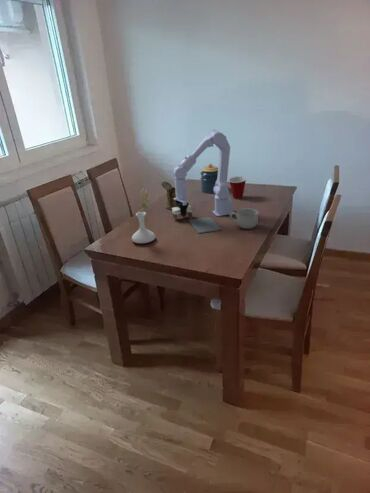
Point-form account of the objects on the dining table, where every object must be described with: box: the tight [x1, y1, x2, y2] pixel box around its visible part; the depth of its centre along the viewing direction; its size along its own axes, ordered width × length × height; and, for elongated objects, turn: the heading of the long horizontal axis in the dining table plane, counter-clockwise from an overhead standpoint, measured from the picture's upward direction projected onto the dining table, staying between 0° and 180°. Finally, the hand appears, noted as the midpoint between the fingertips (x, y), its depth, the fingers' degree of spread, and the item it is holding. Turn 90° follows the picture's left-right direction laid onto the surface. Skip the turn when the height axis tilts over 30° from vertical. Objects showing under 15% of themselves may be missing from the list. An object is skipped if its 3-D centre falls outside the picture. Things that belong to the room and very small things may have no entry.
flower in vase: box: [131, 187, 156, 244], centre depth 171 cm, size 13×11×25 cm
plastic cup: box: [227, 175, 247, 200], centre depth 222 cm, size 11×11×12 cm
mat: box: [188, 216, 222, 235], centre depth 188 cm, size 18×12×1 cm, turn 15°
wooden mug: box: [160, 181, 177, 211], centre depth 210 cm, size 9×14×18 cm, turn 157°
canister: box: [200, 163, 218, 194], centre depth 237 cm, size 13×13×18 cm
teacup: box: [229, 207, 259, 230], centre depth 182 cm, size 14×11×8 cm
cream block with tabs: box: [171, 204, 193, 222], centre depth 197 cm, size 10×5×6 cm, turn 105°
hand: (182, 213), depth 197 cm, fingers closed on cream block with tabs, 5 cm apart
